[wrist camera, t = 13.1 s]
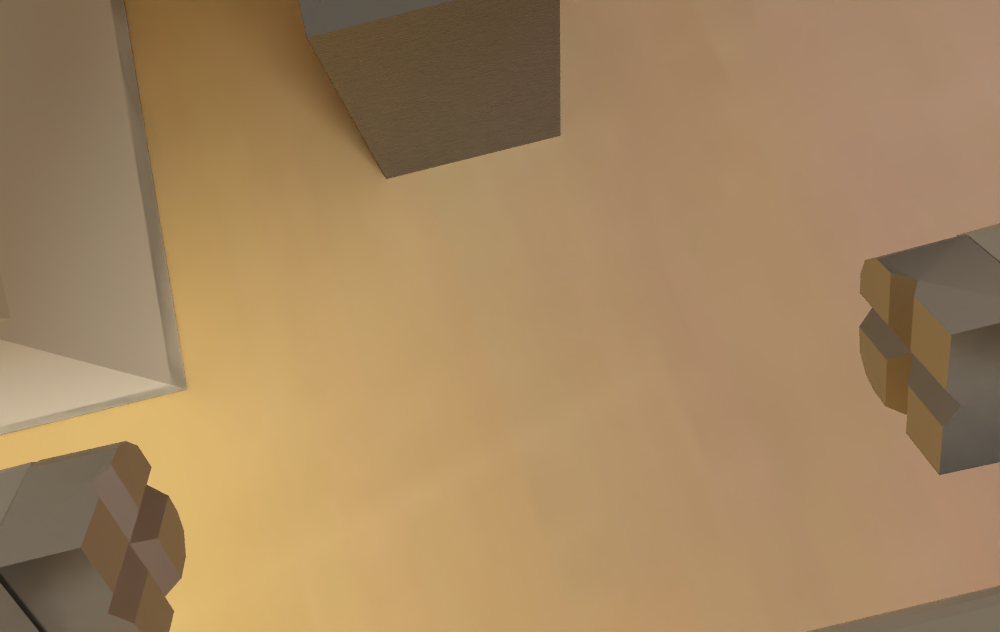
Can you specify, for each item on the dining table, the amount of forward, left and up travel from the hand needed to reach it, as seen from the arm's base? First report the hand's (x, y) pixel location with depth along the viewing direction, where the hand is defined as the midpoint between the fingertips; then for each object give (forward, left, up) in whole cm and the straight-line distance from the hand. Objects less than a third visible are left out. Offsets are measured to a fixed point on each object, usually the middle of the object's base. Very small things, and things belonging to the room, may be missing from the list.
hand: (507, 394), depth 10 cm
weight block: (0, -11, -14) cm, 17 cm away
